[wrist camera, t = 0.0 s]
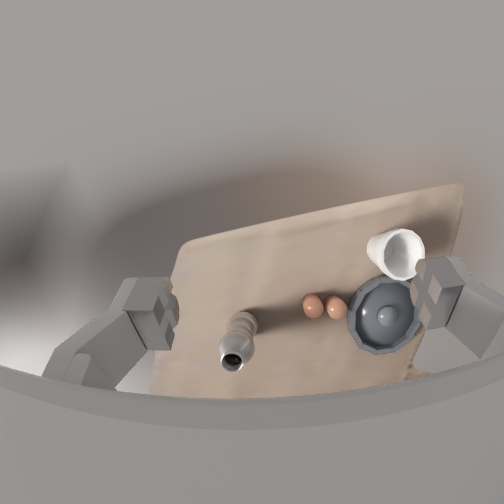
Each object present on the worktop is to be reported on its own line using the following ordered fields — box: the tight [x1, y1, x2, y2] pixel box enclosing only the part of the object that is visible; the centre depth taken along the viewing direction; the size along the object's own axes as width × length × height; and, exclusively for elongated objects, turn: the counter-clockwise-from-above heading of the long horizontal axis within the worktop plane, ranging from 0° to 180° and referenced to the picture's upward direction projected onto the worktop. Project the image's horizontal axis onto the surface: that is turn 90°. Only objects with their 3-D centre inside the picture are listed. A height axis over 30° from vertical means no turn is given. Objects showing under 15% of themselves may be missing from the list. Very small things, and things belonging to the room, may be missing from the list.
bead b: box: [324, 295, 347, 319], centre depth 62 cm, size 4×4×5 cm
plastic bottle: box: [218, 312, 258, 372], centre depth 56 cm, size 6×7×20 cm
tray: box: [347, 275, 421, 355], centre depth 62 cm, size 18×18×3 cm
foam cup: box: [367, 228, 425, 281], centre depth 56 cm, size 10×9×13 cm
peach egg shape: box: [302, 294, 324, 318], centre depth 62 cm, size 4×4×5 cm
